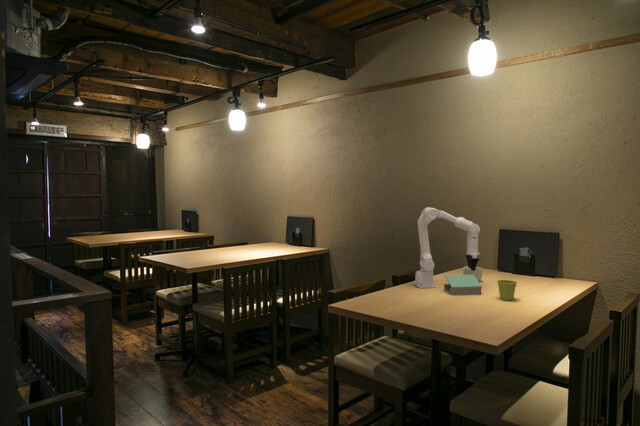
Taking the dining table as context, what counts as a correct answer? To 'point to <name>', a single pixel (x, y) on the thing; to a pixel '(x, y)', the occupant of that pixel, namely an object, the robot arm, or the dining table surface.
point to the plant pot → (506, 289)
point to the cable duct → (461, 290)
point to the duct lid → (463, 281)
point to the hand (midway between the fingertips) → (471, 269)
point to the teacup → (473, 272)
